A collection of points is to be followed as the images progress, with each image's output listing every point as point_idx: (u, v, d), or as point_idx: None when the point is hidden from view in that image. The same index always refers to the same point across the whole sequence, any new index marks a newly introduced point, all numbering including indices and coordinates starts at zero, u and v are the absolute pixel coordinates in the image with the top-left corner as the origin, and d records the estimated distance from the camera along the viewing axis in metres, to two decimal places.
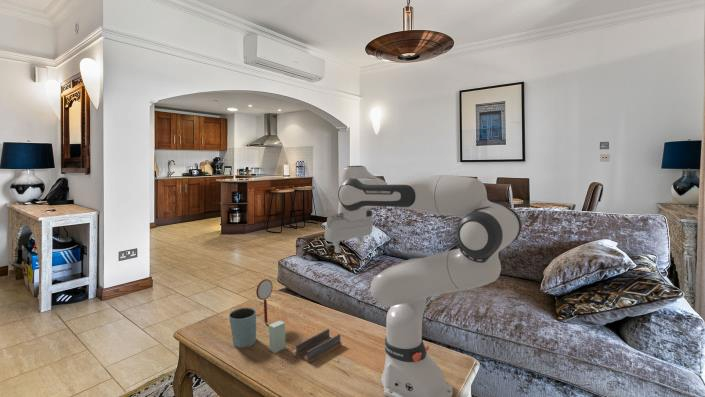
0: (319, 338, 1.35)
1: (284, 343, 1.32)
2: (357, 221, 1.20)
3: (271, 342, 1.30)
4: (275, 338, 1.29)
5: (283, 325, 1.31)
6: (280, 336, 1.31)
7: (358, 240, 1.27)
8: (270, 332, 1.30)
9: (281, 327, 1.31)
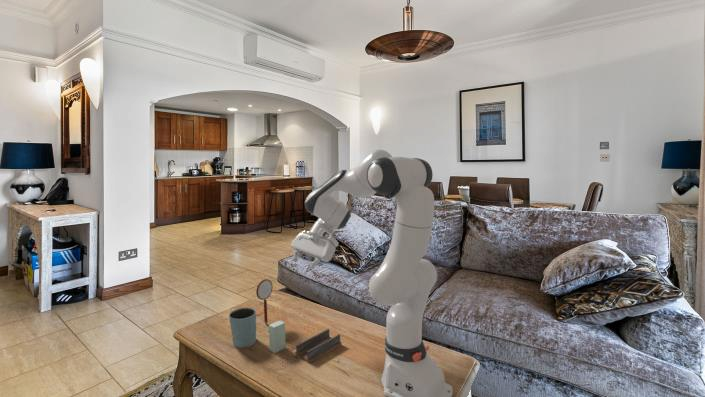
0: (319, 338, 1.35)
1: (284, 343, 1.32)
2: (313, 237, 1.38)
3: (271, 342, 1.30)
4: (275, 338, 1.29)
5: (283, 325, 1.31)
6: (280, 336, 1.31)
7: None
8: (270, 332, 1.30)
9: (281, 327, 1.31)
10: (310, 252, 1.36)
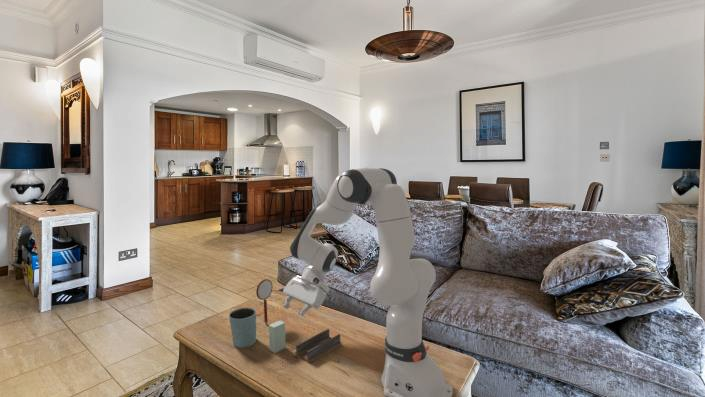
0: (319, 338, 1.35)
1: (284, 343, 1.32)
2: (304, 282, 1.39)
3: (271, 342, 1.30)
4: (275, 338, 1.29)
5: (283, 325, 1.31)
6: (280, 337, 1.31)
7: None
8: (270, 332, 1.30)
9: (281, 327, 1.31)
10: (300, 298, 1.36)
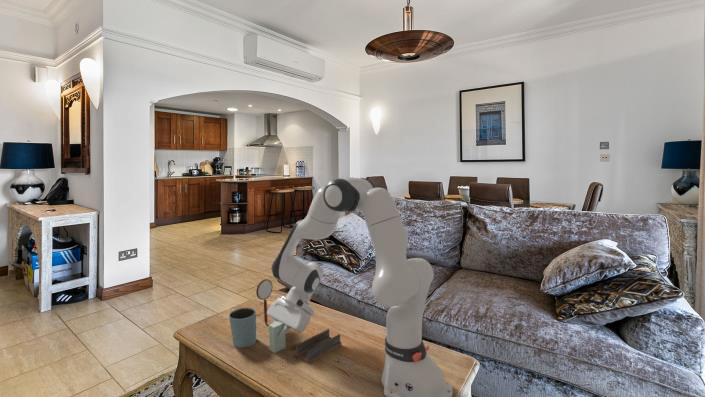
0: (319, 338, 1.35)
1: (284, 343, 1.32)
2: (288, 304, 1.33)
3: (271, 342, 1.30)
4: (275, 338, 1.29)
5: (283, 325, 1.31)
6: None
7: None
8: (270, 332, 1.30)
9: (281, 327, 1.31)
10: (284, 321, 1.31)
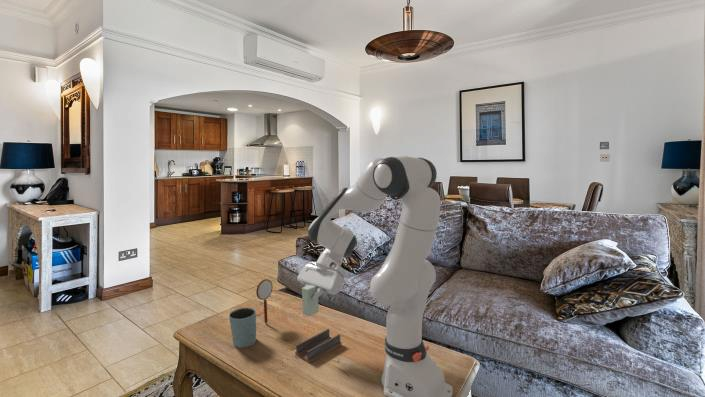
0: (319, 338, 1.35)
1: (317, 307, 1.29)
2: (320, 268, 1.31)
3: (305, 306, 1.27)
4: (308, 301, 1.26)
5: (316, 288, 1.28)
6: (313, 300, 1.28)
7: None
8: (303, 295, 1.27)
9: (314, 290, 1.28)
10: (317, 284, 1.28)
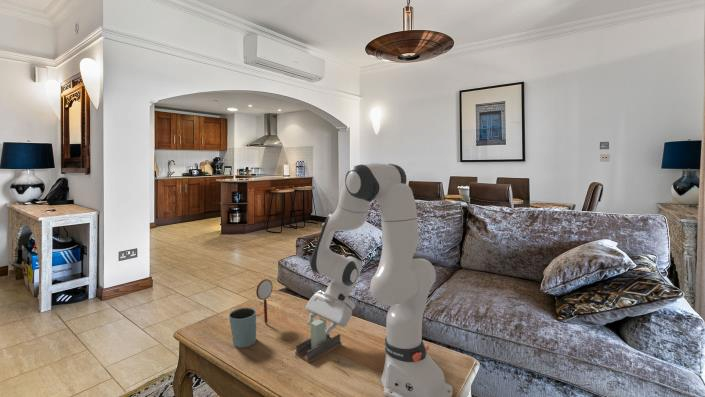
0: None
1: None
2: (328, 299, 1.32)
3: (313, 341, 1.29)
4: (317, 336, 1.28)
5: (324, 323, 1.30)
6: (321, 335, 1.30)
7: None
8: (312, 330, 1.29)
9: (323, 325, 1.30)
10: (325, 316, 1.29)
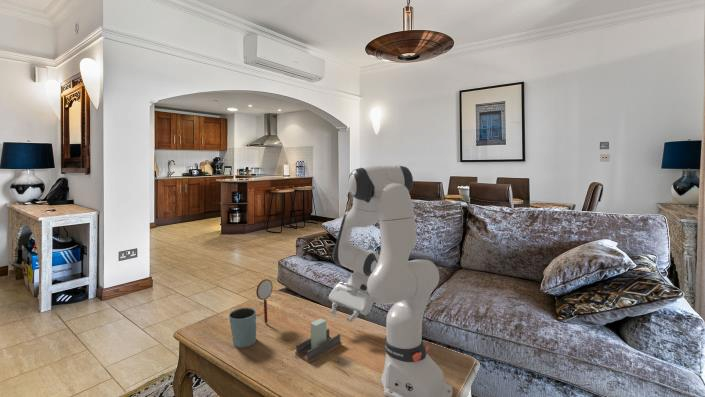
0: None
1: None
2: (351, 289, 1.41)
3: (313, 341, 1.29)
4: (317, 336, 1.28)
5: (324, 323, 1.30)
6: (321, 335, 1.30)
7: None
8: (312, 330, 1.29)
9: (323, 325, 1.30)
10: (348, 305, 1.39)
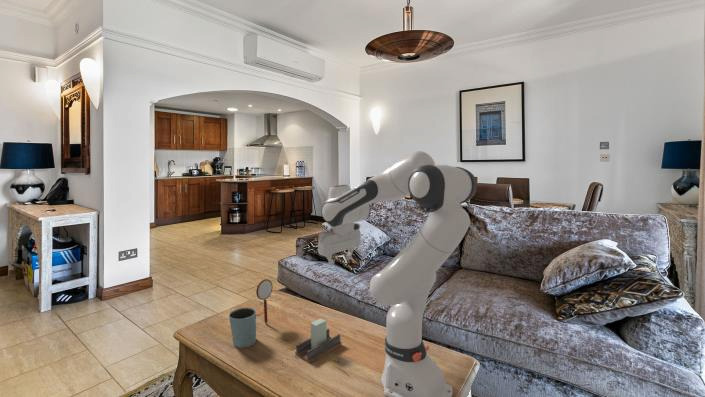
0: None
1: None
2: (346, 234, 1.33)
3: (313, 341, 1.29)
4: (317, 336, 1.28)
5: (324, 323, 1.30)
6: (321, 335, 1.30)
7: (349, 252, 1.40)
8: (312, 330, 1.29)
9: (323, 325, 1.30)
10: (347, 248, 1.36)
